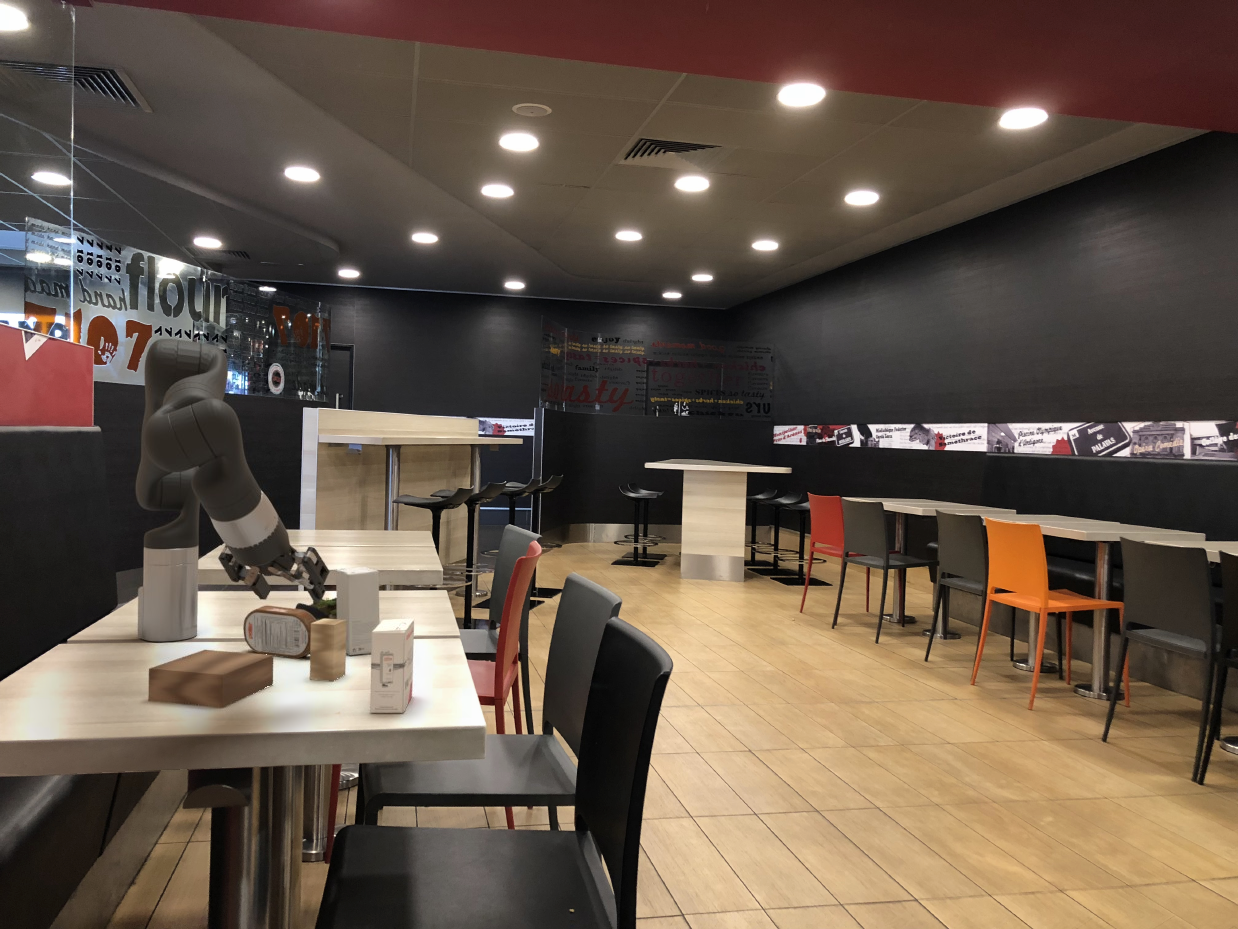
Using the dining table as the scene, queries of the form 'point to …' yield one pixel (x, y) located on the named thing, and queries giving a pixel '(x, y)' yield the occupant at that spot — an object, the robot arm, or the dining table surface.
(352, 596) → the skincare box
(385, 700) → the ink box
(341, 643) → the oak post
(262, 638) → the tin
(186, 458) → the robot arm
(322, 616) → the salad plate
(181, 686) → the walnut slab
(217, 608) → the dining table surface
